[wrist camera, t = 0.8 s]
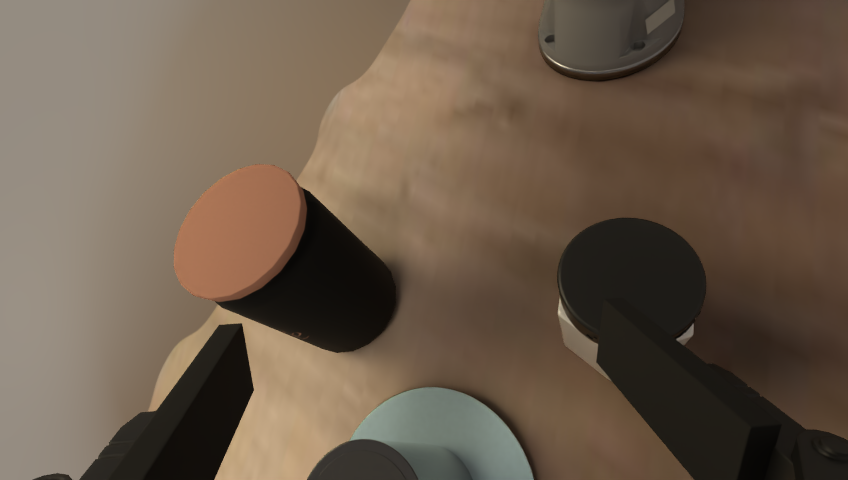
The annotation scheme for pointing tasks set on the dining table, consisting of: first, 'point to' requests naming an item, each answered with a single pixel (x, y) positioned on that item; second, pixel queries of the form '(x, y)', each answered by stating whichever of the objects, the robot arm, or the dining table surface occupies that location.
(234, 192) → the coffee jar
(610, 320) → the robot arm
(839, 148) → the dining table surface
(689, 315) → the jar
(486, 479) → the saucer
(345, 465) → the dark glossy canister
